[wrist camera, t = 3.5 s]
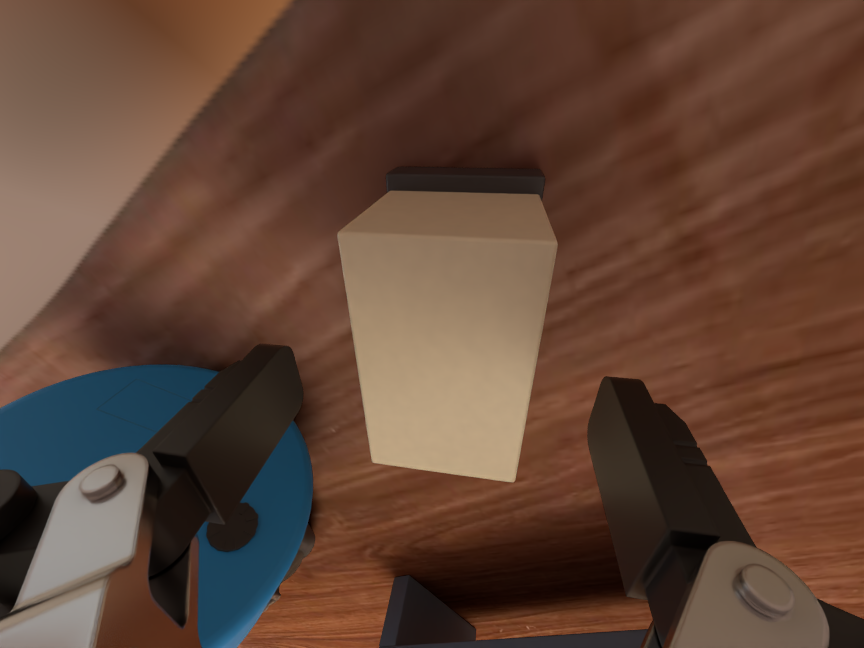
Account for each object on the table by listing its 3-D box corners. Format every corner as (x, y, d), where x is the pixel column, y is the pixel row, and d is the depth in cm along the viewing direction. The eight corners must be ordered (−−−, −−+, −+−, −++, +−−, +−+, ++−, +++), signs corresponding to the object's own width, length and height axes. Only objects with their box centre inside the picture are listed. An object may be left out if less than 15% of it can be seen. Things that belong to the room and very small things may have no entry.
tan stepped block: (396, 166, 13) (326, 208, 8) (541, 168, 12) (568, 217, 7) (410, 410, 19) (377, 520, 14) (506, 421, 18) (507, 542, 13)
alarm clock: (134, 391, 22) (-343, 767, 10) (132, 318, 19) (-596, 747, 6) (326, 476, 24) (128, 901, 11) (356, 423, 20) (120, 944, 8)
